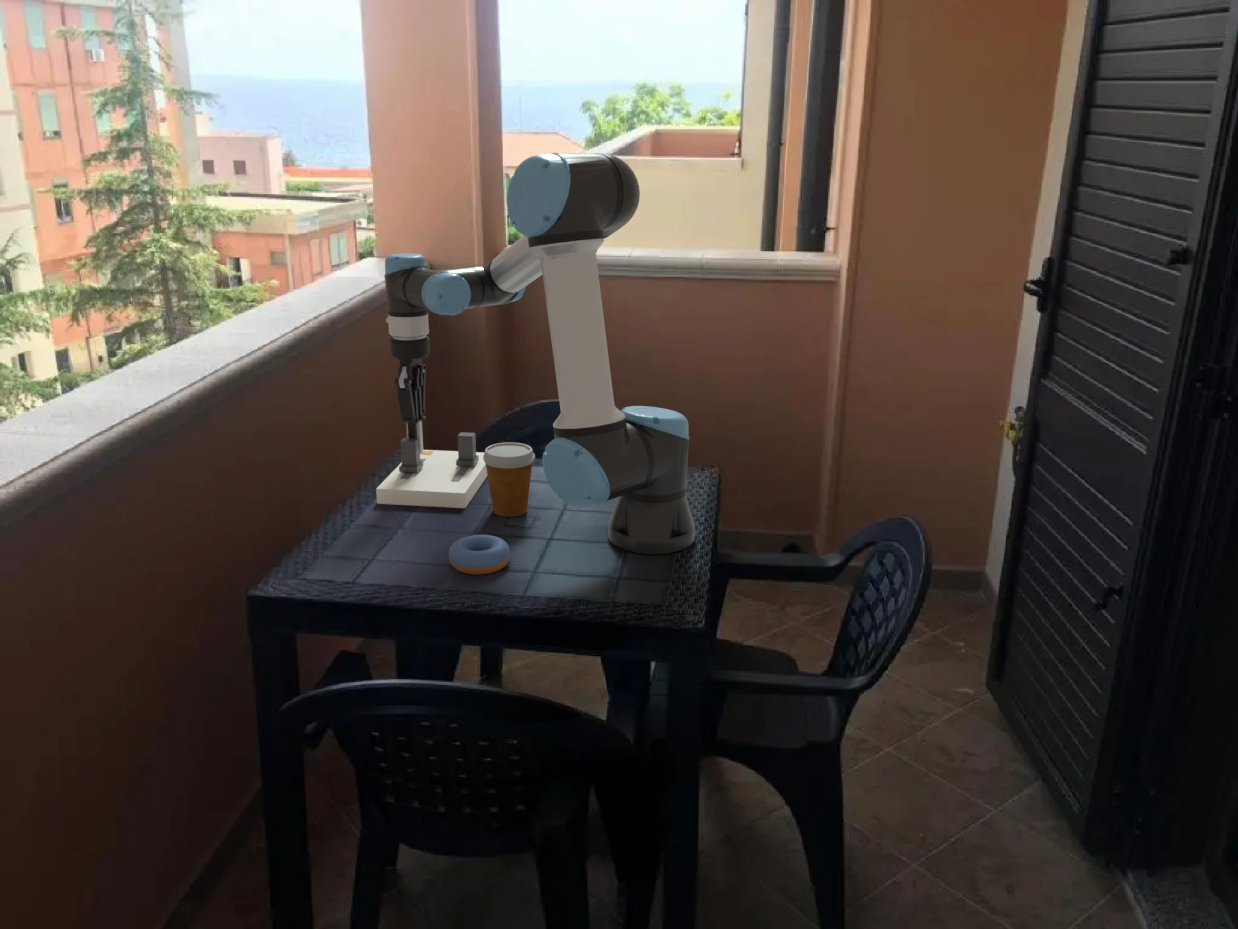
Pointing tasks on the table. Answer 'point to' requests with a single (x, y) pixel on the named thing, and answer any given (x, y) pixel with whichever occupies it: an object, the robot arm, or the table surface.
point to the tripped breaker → (410, 455)
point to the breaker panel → (434, 482)
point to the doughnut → (479, 554)
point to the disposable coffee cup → (509, 477)
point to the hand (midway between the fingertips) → (415, 452)
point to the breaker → (466, 450)
